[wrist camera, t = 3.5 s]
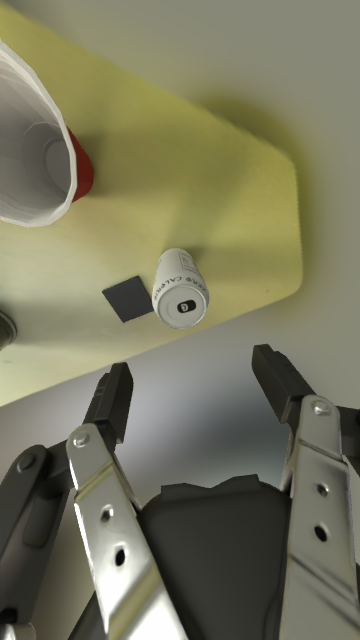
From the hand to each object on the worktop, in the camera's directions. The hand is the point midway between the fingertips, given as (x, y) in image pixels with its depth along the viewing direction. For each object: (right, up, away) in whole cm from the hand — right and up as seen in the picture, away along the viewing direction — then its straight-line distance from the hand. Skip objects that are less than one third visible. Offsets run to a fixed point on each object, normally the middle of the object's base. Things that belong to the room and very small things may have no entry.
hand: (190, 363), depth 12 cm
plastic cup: (-15, +22, +12) cm, 29 cm away
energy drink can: (-1, +12, +19) cm, 22 cm away
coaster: (-10, +6, +22) cm, 24 cm away
